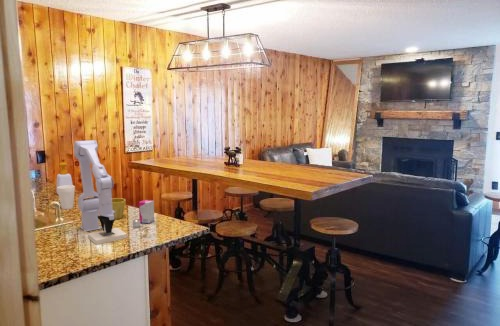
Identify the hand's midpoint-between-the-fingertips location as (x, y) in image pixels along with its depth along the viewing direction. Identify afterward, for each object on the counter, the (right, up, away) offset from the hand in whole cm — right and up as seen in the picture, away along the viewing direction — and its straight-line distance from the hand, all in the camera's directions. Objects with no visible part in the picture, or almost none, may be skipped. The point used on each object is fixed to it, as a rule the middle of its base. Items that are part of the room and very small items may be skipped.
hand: (107, 231), depth 178 cm
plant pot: (-7, +2, +33) cm, 34 cm away
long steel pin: (0, -3, +1) cm, 3 cm away
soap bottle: (-63, +10, +90) cm, 111 cm away
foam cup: (-43, +5, +52) cm, 68 cm away
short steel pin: (+9, -1, +17) cm, 19 cm away
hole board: (0, -3, 0) cm, 3 cm away
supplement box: (+12, 0, +25) cm, 27 cm away
